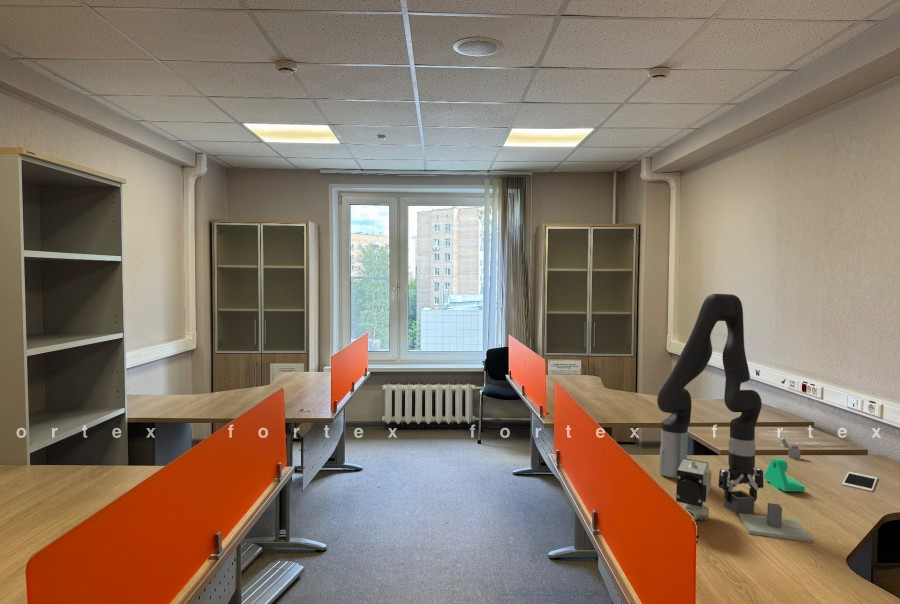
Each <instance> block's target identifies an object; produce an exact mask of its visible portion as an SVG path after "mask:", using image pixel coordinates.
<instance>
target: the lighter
mask: <svg viewBox="0 0 900 604" xmlns="http://www.w3.org/2000/svg"><path fill="white" fill-rule="evenodd" d="M780 441H781V443H782V444H783V446H784V448H785V449H788V453H787V454H788V457H790V458H789V459H794V460H800V459H801V448H800V447H799V446H798V445H795V444H792V445H791V446H789V445H788V442H787V440H786V438H785V437H781V438H780Z"/></svg>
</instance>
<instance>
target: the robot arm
mask: <svg viewBox="0 0 900 604" xmlns="http://www.w3.org/2000/svg"><path fill="white" fill-rule="evenodd" d="M742 303H743V302H742V301H741V299H740V297H739V296H737V295H736V294H731V293H727V294H726V293H712V294H709V295H708V296H706V298H705V299H704V301H703V303H702V305H701V307H700V310H699V312H698V316H697V318H696V321H695V324H694V326H693V327H692V330H691V333H690V335H689V337H688V339H687V341H686V343H685V345H684V347H683V348H682V350H681V353H680V356H679V357H678V360H677V361H676V364H675V366H674V367H673V369H672V371H671V373H670V375H669V376H668V378H667V380H666V381H665V382H664V383H663V386H662V387H661V389H660V391H659V393H658V395H657V400H656V402H657V406H658V410H660V411H661V412H662V413H666V414H670V415H669V416H668V417H666V418H665V419H664V420H662V421H661V429H660V430H661V431H660V432H661V433H660V434H661V435H660V446H659V469H658V470H659V474H660V476H661V477H666V478H671V479H677V470H678V469H679V467H680V465H681V463H682V461H683V460H684V458H685V459H688V457H687V456H688V431H689V430H688V428H689V427H690V424H691V417H692V415H691V414H692V397H691V393H690V392H689V390H688V389H686V388H685V387H686V386H688V384H689V383H690V382H691V383H692V381H694V379H696V378H697V377H698V376H700V375H701V374H702V373H703V371H705V369H706V367H707V365H708V363H709V362H710V360H711V358H712V355H713V345H712V340H711V336H712V333H713V330H714V328H715V325H716V324H717V323H718V322H725V325H726V329H727V338H726V342H725V344H724V347H723V351H722V356H721V357H722V364H723V371H724V375H725V383H724V385H725V386H724V395H723V397H724V398H723V400H724V404H725V406H726V408H727V409H728V410H729V411H730V412H732V413H741V414H740V415H739V416H738V417H735V418H733V419H731V420H730V424H729V438H728V439H729V440H728V460H727V461H728V462H727V463H728V466H729V467H728V470H724V469H723V468H720V469H719V473H718V485H717V486H718V487H719V488H720V489H722V490H723V491H724V496H723V498H724V501H725V500H726V501H727V502H728V503H732V492H731V491H733V490H734V488H736V487H737V486H738V485H742V484H746V485H747V484H748V486H749V487H750V488H749V490H748V493H749V494H750V496H752V497H754V498H755V499H754V503H755V502H756V501H757V499H758V490H760V489H763V488H764V487H765V486H764V471H763V470H762V469H761V468H758V467H756V442H755V441H756V440H755V435H756V431H755V430H756V428H755V427H756V424H757V422H758V419H759V416H760V414H761V413H760V412H761V409H762V404H763V403H762V398H761V396H760V394H759V393H758V392H757V391H756V390H755V389H741V385H742V384H743V383H746V382H748V381H750V378H751V374H750V369H749V365H748V360H747V355H746V350H745V349H746V348H745V330H744V326H745V325H744V311H743V309H744V308H743V304H742ZM753 477H754V478H753Z"/></svg>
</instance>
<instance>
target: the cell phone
mask: <svg viewBox="0 0 900 604" xmlns="http://www.w3.org/2000/svg"><path fill="white" fill-rule="evenodd" d="M877 481H878V477H877V476H872V475H869V474H864V473H863V474H862V473H859V472H858V473H857V472H853V471H847V473H846V476H845V477H844V479H843V481H842V483H841V485H842V486H843V487H847V488H853V489H857V490H861V491H864V492H865V491H866V492H871V493H872V492H874V490H875V486H876V484H877Z"/></svg>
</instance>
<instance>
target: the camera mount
mask: <svg viewBox="0 0 900 604" xmlns="http://www.w3.org/2000/svg"><path fill="white" fill-rule="evenodd" d="M788 467H789V466H788V463H787V460H786V459H783V458H772V460H771V461H770V463H769V465H768V467H767V468H766V470H765V472H764V473H763V479H764V480H766V481H768V482H769V485H770V486H772V487H773V488H774V489H776V490H780V491H781V490H782V491H783V492H806V491H805V490H806V486H805V485H804V484H802V483H800V482H798V481H797V480H795V479H793V478H792V477H790V476H788V475H786V472H788Z"/></svg>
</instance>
